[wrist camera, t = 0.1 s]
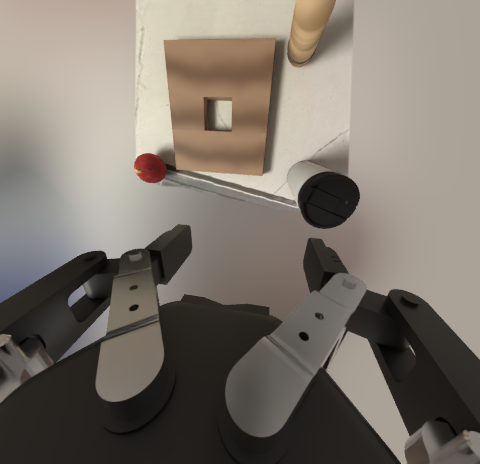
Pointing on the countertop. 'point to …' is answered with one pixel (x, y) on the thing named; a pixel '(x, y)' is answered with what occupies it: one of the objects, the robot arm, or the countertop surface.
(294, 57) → the oak peg
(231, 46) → the walnut board
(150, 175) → the red egg-shaped piece
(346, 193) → the travel mug
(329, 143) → the countertop surface
